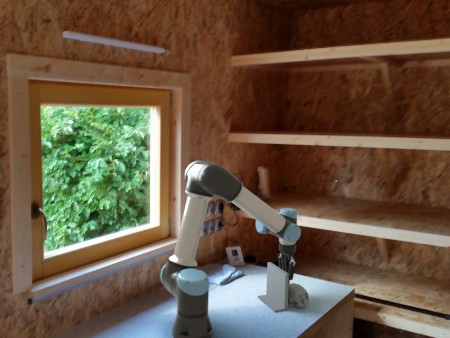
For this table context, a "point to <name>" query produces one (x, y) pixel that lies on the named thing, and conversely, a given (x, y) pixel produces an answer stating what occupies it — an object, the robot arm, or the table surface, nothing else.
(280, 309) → the grey screen
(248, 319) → the table surface
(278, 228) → the robot arm
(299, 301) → the grey streaked ovoid
